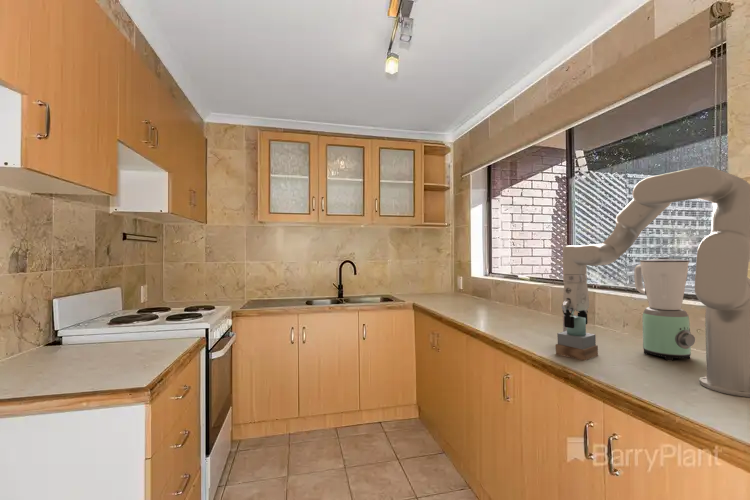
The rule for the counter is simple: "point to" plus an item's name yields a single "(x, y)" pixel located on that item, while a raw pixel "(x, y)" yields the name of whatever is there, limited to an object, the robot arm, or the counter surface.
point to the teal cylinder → (578, 327)
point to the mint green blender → (664, 307)
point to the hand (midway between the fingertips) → (576, 325)
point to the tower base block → (577, 352)
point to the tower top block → (576, 340)
